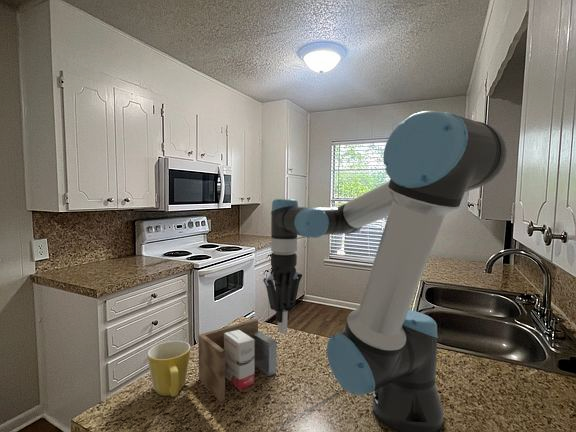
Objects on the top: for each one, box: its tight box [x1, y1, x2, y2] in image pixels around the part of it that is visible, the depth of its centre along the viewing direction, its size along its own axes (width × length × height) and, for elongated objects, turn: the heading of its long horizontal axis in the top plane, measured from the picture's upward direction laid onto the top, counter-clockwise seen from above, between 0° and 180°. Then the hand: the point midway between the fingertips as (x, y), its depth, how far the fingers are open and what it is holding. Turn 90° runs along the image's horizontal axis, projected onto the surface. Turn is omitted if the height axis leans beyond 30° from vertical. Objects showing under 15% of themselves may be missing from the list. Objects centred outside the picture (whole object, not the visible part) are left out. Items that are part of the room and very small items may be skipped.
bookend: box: [253, 331, 278, 377], centre depth 89 cm, size 8×2×9 cm, turn 40°
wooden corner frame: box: [198, 318, 259, 403], centre depth 84 cm, size 12×18×13 cm, turn 130°
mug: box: [147, 340, 191, 397], centre depth 79 cm, size 14×10×10 cm
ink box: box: [224, 330, 256, 390], centre depth 83 cm, size 8×5×12 cm, turn 39°
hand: (282, 331), depth 93 cm, fingers closed
